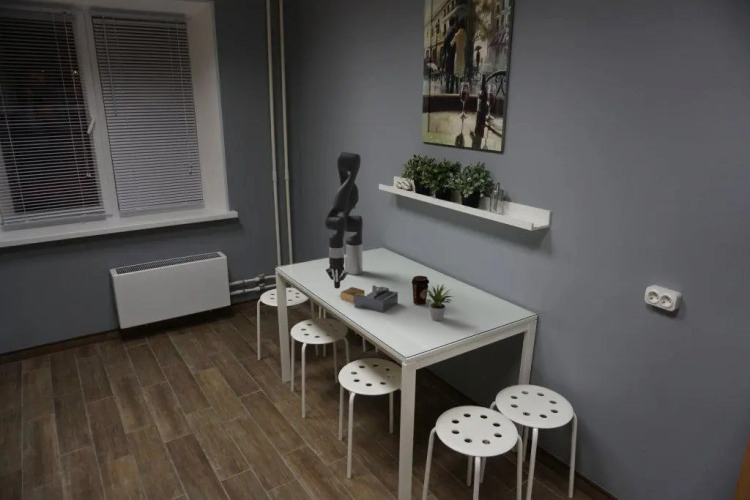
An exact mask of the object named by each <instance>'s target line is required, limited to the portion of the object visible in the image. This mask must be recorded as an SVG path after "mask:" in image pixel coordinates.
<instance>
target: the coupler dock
mask: <svg viewBox="0 0 750 500" xmlns="http://www.w3.org/2000/svg"><path fill="white" fill-rule="evenodd" d="M371 287H372V290H371V292H370V293H368V294H366V295H365V296H362V295H355V296H354V303H353V304H354V308H364V309H368V310H372V311H375V312H380V313H385V312H387V311H388V310H389V309H392V307H395V306H396V305H397V304H399V301H398V300H399V292H397V291H393V290H390V289H389V287H385V286H376V285H375V284H373V285H371Z"/></svg>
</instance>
